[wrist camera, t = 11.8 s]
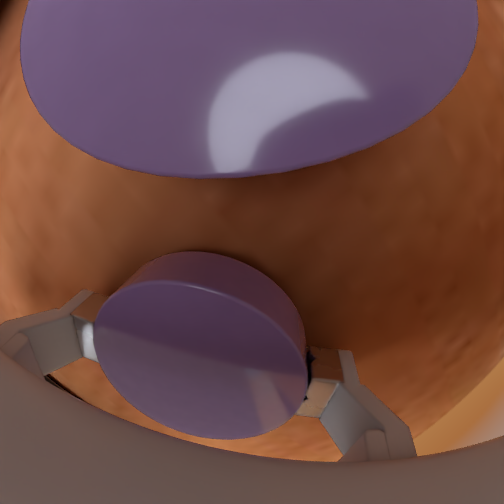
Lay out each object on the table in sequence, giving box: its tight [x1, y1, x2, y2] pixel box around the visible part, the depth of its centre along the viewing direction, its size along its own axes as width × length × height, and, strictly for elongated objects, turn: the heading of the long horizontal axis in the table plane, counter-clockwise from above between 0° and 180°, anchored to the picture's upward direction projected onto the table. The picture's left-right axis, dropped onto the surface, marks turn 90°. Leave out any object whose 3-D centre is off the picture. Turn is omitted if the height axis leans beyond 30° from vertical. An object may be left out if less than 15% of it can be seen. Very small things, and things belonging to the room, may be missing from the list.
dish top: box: [93, 251, 308, 440], centre depth 8 cm, size 6×6×2 cm
